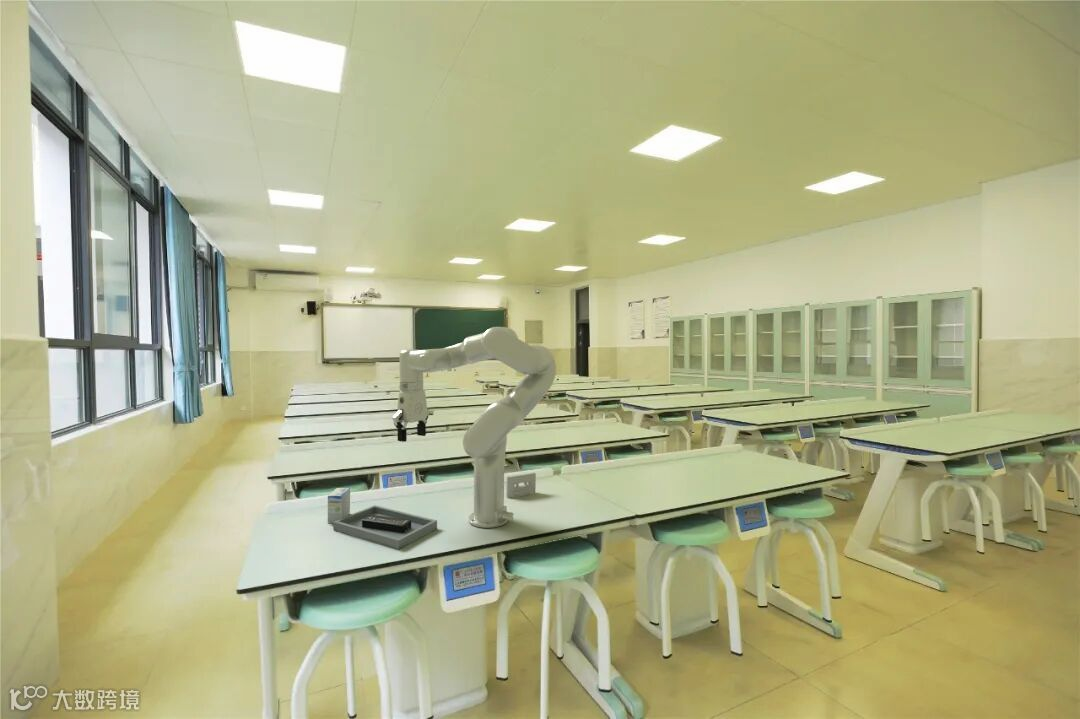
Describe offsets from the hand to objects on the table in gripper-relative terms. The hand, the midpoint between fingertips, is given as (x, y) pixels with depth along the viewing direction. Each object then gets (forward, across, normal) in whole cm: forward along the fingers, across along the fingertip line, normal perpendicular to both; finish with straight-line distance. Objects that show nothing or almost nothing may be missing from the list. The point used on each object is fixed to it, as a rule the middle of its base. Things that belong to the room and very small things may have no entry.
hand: (412, 438), depth 155 cm
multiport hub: (+24, -16, -3) cm, 29 cm away
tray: (+24, -16, -3) cm, 29 cm away
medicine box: (+24, -16, +16) cm, 33 cm away
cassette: (+25, +30, -26) cm, 47 cm away
